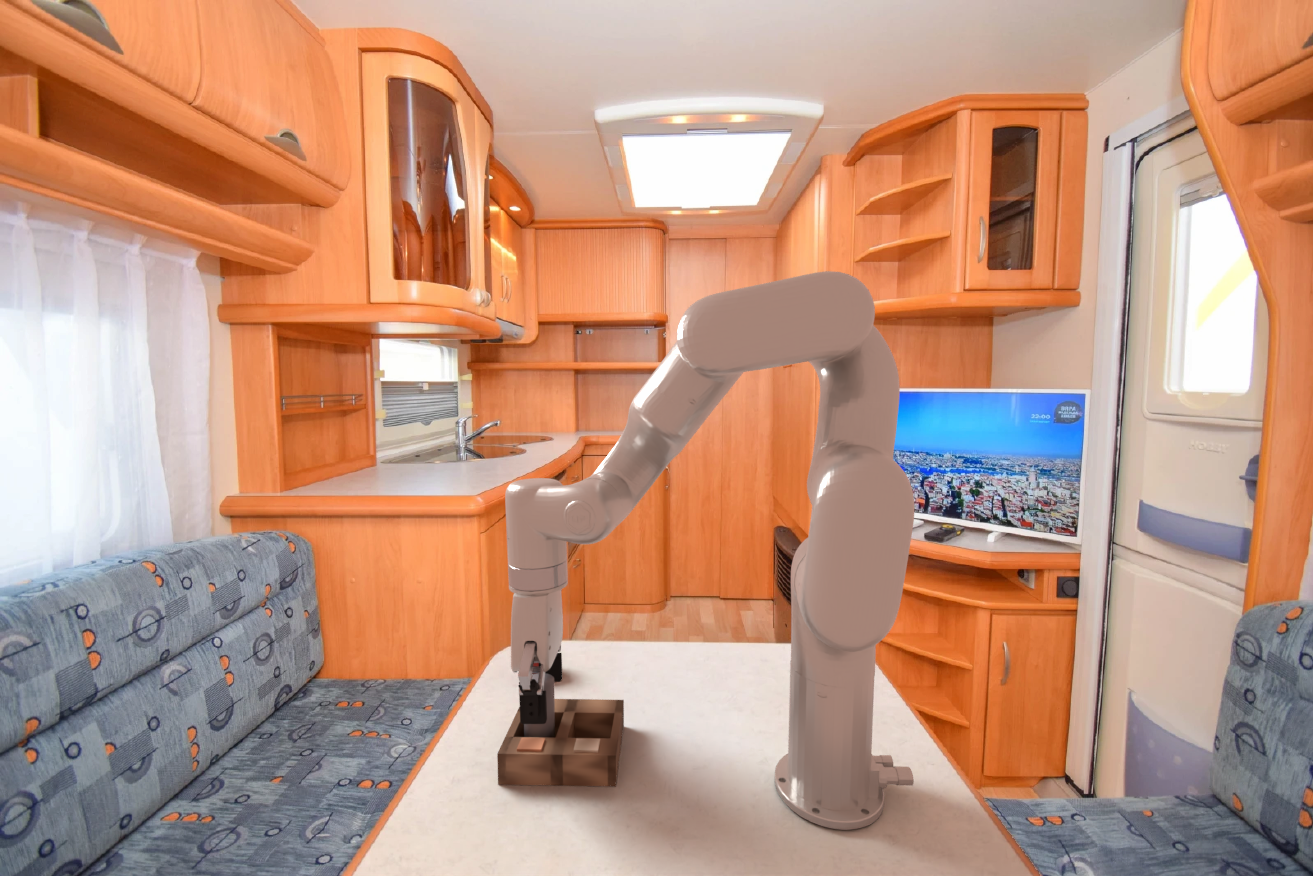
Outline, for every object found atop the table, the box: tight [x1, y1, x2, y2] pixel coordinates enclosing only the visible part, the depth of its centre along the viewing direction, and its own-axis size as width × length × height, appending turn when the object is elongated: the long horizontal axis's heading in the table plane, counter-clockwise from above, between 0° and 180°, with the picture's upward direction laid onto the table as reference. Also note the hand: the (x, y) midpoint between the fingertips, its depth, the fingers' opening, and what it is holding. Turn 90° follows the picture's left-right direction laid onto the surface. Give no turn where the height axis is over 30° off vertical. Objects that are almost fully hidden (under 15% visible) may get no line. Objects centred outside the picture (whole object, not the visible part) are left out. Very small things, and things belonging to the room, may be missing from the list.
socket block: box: [496, 698, 625, 788], centre depth 72 cm, size 14×12×4 cm
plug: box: [524, 673, 555, 738], centre depth 72 cm, size 4×4×10 cm
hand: (542, 700), depth 72 cm, fingers open, 9 cm apart
